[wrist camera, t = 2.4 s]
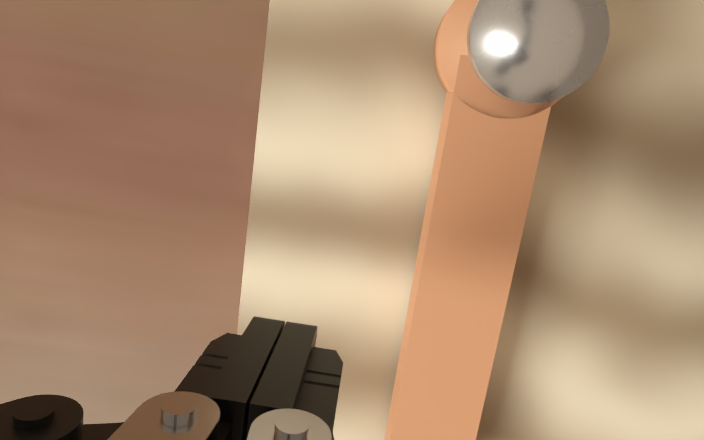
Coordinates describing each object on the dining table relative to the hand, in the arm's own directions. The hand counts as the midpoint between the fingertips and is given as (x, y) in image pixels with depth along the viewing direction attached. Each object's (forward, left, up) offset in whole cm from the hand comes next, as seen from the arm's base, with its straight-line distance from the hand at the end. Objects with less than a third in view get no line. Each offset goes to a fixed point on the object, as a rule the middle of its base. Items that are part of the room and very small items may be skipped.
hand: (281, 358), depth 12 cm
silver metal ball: (-8, +5, -6) cm, 11 cm away
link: (-2, +5, -8) cm, 9 cm away
